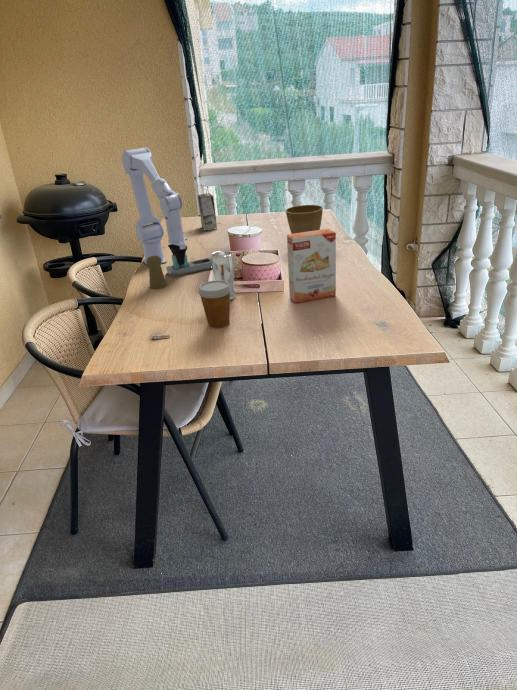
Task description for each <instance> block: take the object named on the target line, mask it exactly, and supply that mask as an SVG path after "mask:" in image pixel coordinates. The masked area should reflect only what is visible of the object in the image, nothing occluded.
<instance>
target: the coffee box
mask: <svg viewBox="0 0 517 690" xmlns="http://www.w3.org/2000/svg"><path fill="white" fill-rule="evenodd" d="M197 201H198V209H199V216H200V223H201V224H200V225H201V228H202V227H203V228H204V229H205V230H208V231H210V230H209V229H214V230H216V229H215V228H217V229H218V224H217V217H216V208H215V207H216V206H215V199H214V195H213V194H211V193H210V192H208V193H202V194H197ZM203 228H202V229H203ZM204 229H203V230H204ZM205 230H204V231H205Z"/></svg>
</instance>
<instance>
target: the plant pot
mask: <svg viewBox="0 0 517 690" xmlns="http://www.w3.org/2000/svg"><path fill="white" fill-rule="evenodd" d="M323 210H324V209H323V206H322V205H319V204H302V205H301V204H300V205H295V206H291V207H289V208H286V209H285V215H286V218H287V224H288V227H289V231H290V234H294V233H301V232H308V231H315V230H321V226H322V219H323V212H324V211H323Z"/></svg>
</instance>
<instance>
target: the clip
mask: <svg viewBox="0 0 517 690" xmlns="http://www.w3.org/2000/svg"><path fill="white" fill-rule="evenodd" d="M170 256H171V261H172V265H173V267H174V269H178V268H180V267H179V264H178V262H177V259H176V256H175V255H173V254H172V255H170ZM188 262H189V261H188V255H187V252H186V253H185V262H184V264H183V265H182V268H183V267H187V266H188Z"/></svg>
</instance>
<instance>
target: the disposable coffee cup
mask: <svg viewBox="0 0 517 690" xmlns="http://www.w3.org/2000/svg"><path fill="white" fill-rule="evenodd" d="M230 291H231V287H230V285H229V283H228V282H226V281H222V280H215V279H214V280H210V281H209V280H208V281H206V282H203V283H201V284H200V285H199V287H198V290H197V293H198V295H199V296H200V300H201V302H202V306H203V310H204V313H205V318H206V320H207V324H208V325H207V326H209V327H210V328H215V329H219V328H225V327H227V326H228V325H230V313H231V312H230V311H231V310H230V309H231V308H230V303H231V300H230Z"/></svg>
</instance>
